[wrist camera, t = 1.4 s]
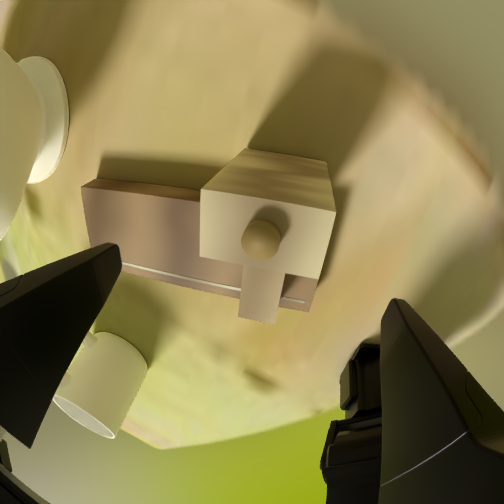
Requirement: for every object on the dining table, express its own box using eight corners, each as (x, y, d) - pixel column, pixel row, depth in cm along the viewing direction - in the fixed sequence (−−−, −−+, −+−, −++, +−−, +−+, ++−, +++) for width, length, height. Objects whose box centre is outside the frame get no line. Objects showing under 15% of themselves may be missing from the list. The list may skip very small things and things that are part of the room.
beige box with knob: (326, 161, 17) (337, 219, 9) (298, 289, 22) (286, 382, 15) (245, 148, 17) (194, 194, 10) (233, 276, 22) (198, 362, 15)
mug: (104, 303, 28) (50, 376, 19) (162, 374, 33) (129, 444, 24) (67, 311, 31) (21, 370, 22) (119, 373, 36) (87, 431, 27)
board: (331, 212, 18) (333, 226, 17) (309, 294, 22) (308, 312, 20) (96, 178, 20) (80, 187, 19) (106, 251, 24) (94, 263, 22)
